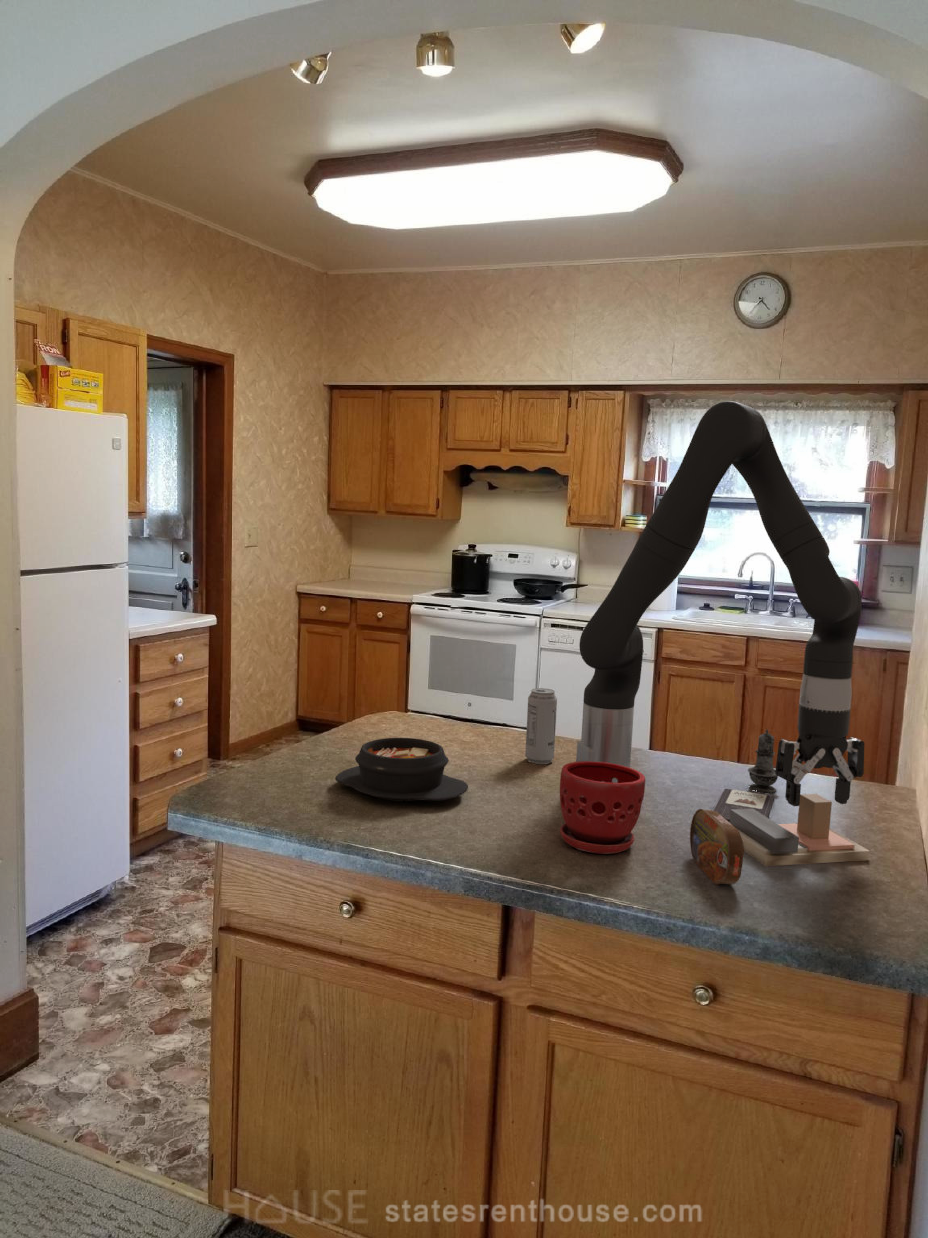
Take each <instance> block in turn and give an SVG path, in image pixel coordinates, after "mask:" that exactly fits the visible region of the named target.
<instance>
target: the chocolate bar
mask: <svg viewBox="0 0 928 1238" xmlns="http://www.w3.org/2000/svg"><path fill="white" fill-rule="evenodd" d="M774 800H775V796H774V795H769V794H764V793H758V792H750V791H743V790H737V789H731V788H724V790H723V792H722V793H721V795H720V798H719V799H718V801H717V803H716V805H715V807H714V808H713V811H716V812H718V813H719V814H721V815H722V816H723V817H724V818H725V819H726V820H727V821H728V822H730V811H731V809H754V810H756V811H757V812H759V813H760V814H762V815H764V816H765V817H767V818H769V816H770V814H771V813H770V812H771V811H772V810H771V809H772V807H773V804H774Z"/></svg>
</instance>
